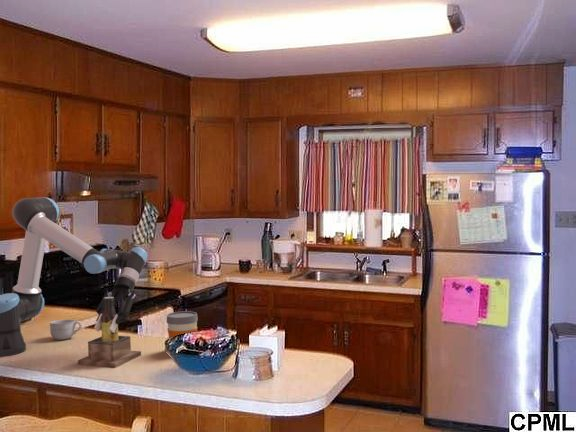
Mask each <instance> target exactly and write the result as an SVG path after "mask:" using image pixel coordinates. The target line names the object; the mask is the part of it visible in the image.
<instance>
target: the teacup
mask: <svg viewBox="0 0 576 432" xmlns="http://www.w3.org/2000/svg"><path fill="white" fill-rule="evenodd" d="M77 324H78V325H79V327H78V328H77V329H76V325H77ZM82 327H83V325H82V322H81V321H79V320H78V321H77V320H75V319H68V318H67V319H58V320H53V321H50V322H49V328H50V329H49V330H50V335H51V337H52V338H53V339H55V340H70V339H71V338H72V337H73V336H74V335H76V334H77V332H79V331H81V329H82Z"/></svg>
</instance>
